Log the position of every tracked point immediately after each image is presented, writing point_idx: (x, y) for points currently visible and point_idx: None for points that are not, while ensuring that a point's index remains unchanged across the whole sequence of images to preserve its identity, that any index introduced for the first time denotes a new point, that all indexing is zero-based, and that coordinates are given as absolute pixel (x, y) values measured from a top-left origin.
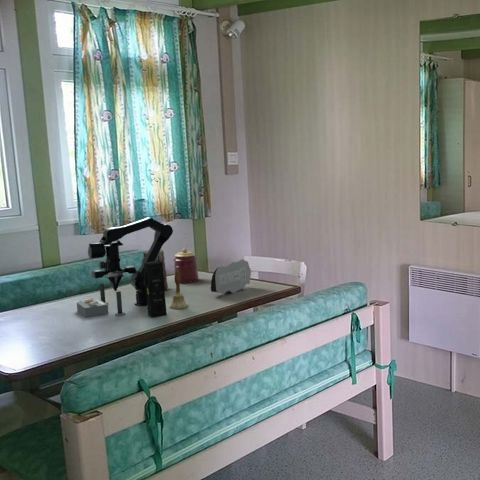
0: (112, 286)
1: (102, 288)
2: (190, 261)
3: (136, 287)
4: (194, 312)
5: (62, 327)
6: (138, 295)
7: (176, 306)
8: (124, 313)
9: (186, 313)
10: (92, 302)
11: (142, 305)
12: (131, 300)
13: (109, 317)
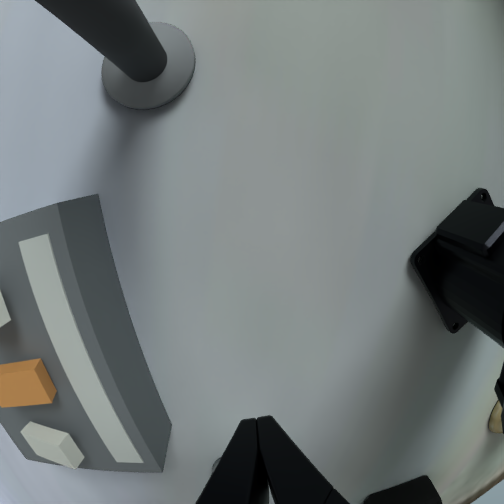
0: (217, 475)
1: (77, 17)
2: None
3: (502, 415)
4: (487, 474)
5: (17, 484)
6: (479, 315)
7: (501, 432)
8: (268, 483)
9: (467, 484)
10: (43, 452)
11: (440, 316)
12: (412, 52)
13: (180, 486)
